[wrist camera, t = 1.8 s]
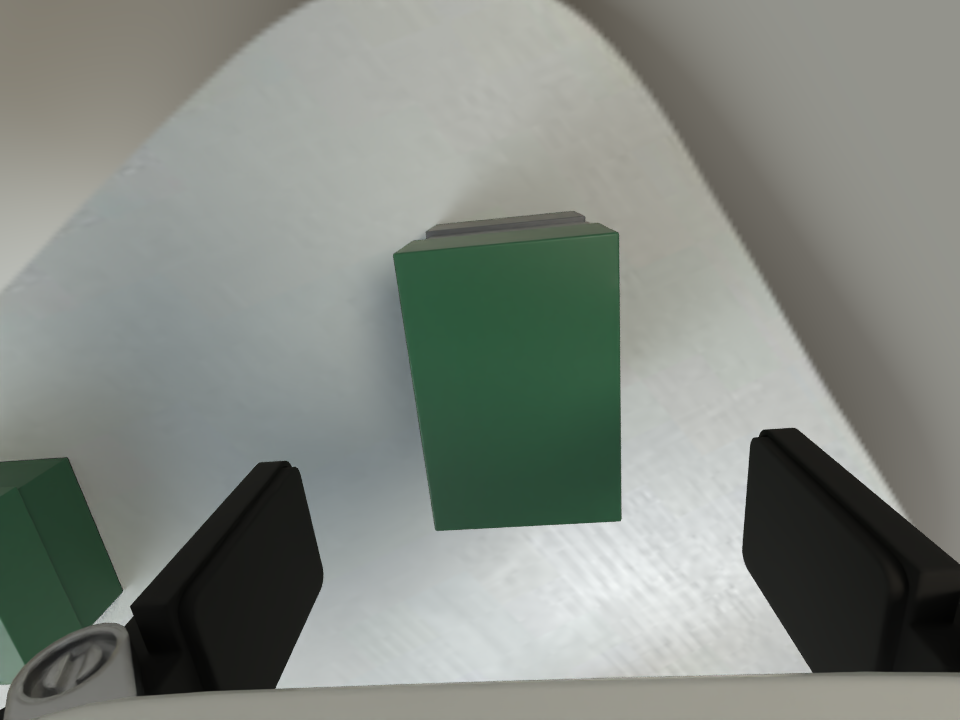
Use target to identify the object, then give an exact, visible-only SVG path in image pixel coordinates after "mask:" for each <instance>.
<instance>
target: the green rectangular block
mask: <svg viewBox="0 0 960 720" xmlns="http://www.w3.org/2000/svg"><path fill="white" fill-rule="evenodd" d="M393 258H394V265H395V271H396V278H397V284H398V291H399V297H400V304H401V310H402V317H403V323H404V330H405V337H406V343H407V350H408V356H409V363H410V369H411V376H412V382H413V389H414V395H415V402H416V408H417V415H418V421H419V428H420V434H421V441H422V447H423V454H424V460H425V467H426V473H427V480H428V486H429V493H430V499H431V506H432V512H433V519H434V525H435V530H436V531H444V530H463V529H483V528H502V527H521V526H540V525H559V524H578V523H597V522H616V521H621V519H622V516H621V402H620V289H619V233H618V232H616V231H614V230H612V229H610V228H608V227H606V226H604V225H602V224H599V223H591V224H580V225H570V226H560V227H549V228H539V229H529V230H518V231H508V232H498V233H487V234H477V235H467V236H456V237H446V238H436V239H425V240H415V241H412V242H410V243H409V244H407V245H406V246H404V247H403V248H402V249H400V250H399V251H397V252H396V253H394V254H393Z"/></svg>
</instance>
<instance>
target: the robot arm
mask: <svg viewBox="0 0 960 720" xmlns="http://www.w3.org/2000/svg"><path fill="white" fill-rule="evenodd" d="M742 553H743V559H744V562H745V565H746V567H747V569H748V571H749V572H750V574H751V576H752V577H753V579H754V580H755V582H756V584H757V585H758V587H759V588H760V590H761V591H762V593H763V595H764V596H765V598H766V599H767V601H768V603H769V604H770V606H771V607H772V609H773V610H774V612H775V614H776V615H777V617H778V618H779V620H780V622H781V623H782V625H783V626H784V628H785V629H786V631H787V633H788V634H789V636H790V637H791V639H792V641H793V642H794V644H795V645H796V647H797V648H798V650H799V652H800V653H801V655H802V656H803V658H804V660H805V661H806V663H807V664H808V666H809V667H810V669H811V671H812V672H813V673H789V674H747V675H705V676H663V677H622V678H587V679H552V680H518V681H486V682H454V683H423V684H396V685H368V686H341V687H313V688H286V689H275V688H276V686H277V683H278V681H279V679H280V677H281V675H282V673H283V670H284V668H285V666H286V664H287V662H288V660H289V657H290V655H291V653H292V651H293V649H294V646H295V644H296V642H297V640H298V638H299V636H300V633H301V631H302V629H303V627H304V625H305V622H306V620H307V618H308V616H309V614H310V612H311V609H312V607H313V605H314V603H315V601H316V598H317V596H318V594H319V592H320V590H321V587H322V583H323V567H322V563H321V559H320V554H319V550H318V546H317V542H316V538H315V533H314V529H313V525H312V521H311V517H310V513H309V508H308V504H307V500H306V496H305V492H304V487H303V483H302V479H301V475H300V472H299V470H298V468H296V467H292V466H291V464H290V463H289V462H288V461H275V462H261V463H258V464H257V465H256V466H255V467H254V468H253V469H252V470H251V472H250V473H249V474H248V475H247V476H246V477H245V478H244V479H243V480H242V482H241V483H240V484H239V485H238V486H237V487H236V488H235V489H234V491H233V492H232V493H231V494H230V495H229V496H228V497H227V498H226V499H225V501H224V502H223V503H222V504H221V505H220V506H219V507H218V508H217V510H216V511H215V512H214V513H213V514H212V515H211V516H210V517H209V519H208V520H207V521H206V522H205V523H204V524H203V525H202V526H201V527H200V529H199V530H198V531H197V532H196V533H195V534H194V535H193V536H192V538H191V539H190V540H189V541H188V542H187V543H186V544H185V545H184V546H183V548H182V549H181V550H180V551H179V552H178V553H177V554H176V555H175V557H174V558H173V559H172V560H171V561H170V562H169V563H168V564H167V565H166V567H165V568H164V569H163V570H162V571H161V572H160V573H159V574H158V576H157V577H156V578H155V579H154V580H153V581H152V582H151V583H150V585H149V586H148V587H147V588H146V589H145V590H144V591H143V592H142V593H141V595H140V596H139V597H138V598H137V599H136V600H135V601H134V602H133V604H132V605H131V606H130V608H131V610H132V613H133V615H134V616H133V617H132V618H131V620H130V621H129V622H128V623H127V624H126V625H125V627H124V626H122V625H120V624H117V623H101V624H96V625H91V626H87V627H85V628H82V629H79V630H77V631H74V632H72V633H70V634H68V635H66V636H64V637H62V638H60V639H58V640H57V641H55V642H53V643H52V644H50V645H49V646H47V647H46V648H45V649H43V650H42V651H40V652H39V653H37V654H36V655H35V656H34V657H33V658H32V659H31V660H30V661H29V662H28V663H27V664H25V665H24V666H23V667H22V669H21V670H20V671H19V673H18V674H17V675H16V676H15V678H14V679H13V680H12V683H11V685H10V688H9V691H8V694H7V700H6V706H5V708H3V709H1V710H0V720H960V564H958V562H956V561H955V560H954V559H953V558H952V557H950V556H949V555H948V554H947V553H946V552H944V551H943V550H942V549H941V548H940V547H938V546H937V545H936V544H935V543H934V542H932V541H931V540H930V539H929V538H927V537H926V536H925V535H924V534H923V533H922V532H920V531H919V530H918V529H917V528H915V527H914V526H913V525H912V524H911V523H909V522H908V521H907V520H906V519H905V518H903V517H902V516H901V515H900V514H899V513H897V512H896V511H895V510H894V509H893V508H891V507H890V506H889V505H888V504H887V503H885V502H884V501H883V500H882V499H881V498H879V497H878V496H877V495H876V494H875V493H873V492H872V491H871V490H870V489H869V488H867V487H866V486H865V485H864V484H863V483H861V482H860V481H859V480H858V479H857V478H855V477H854V476H853V475H852V474H851V473H849V472H848V471H847V470H846V469H845V468H843V467H842V466H841V465H840V464H839V463H837V462H836V461H835V460H834V459H833V458H831V457H830V456H829V455H828V454H827V453H825V452H824V451H823V450H822V449H821V448H819V447H818V446H817V445H816V444H815V443H813V442H812V441H811V440H810V439H809V438H807V437H806V436H805V435H804V434H803V433H801V432H800V431H799V430H797V429H796V428H783V429H768V430H763V431H761V433H760V435H759V437H756V438H753V439H752V441H751V444H750V455H749V468H748V481H747V494H746V507H745V520H744V533H743V546H742Z"/></svg>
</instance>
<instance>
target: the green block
mask: <svg viewBox="0 0 960 720" xmlns="http://www.w3.org/2000/svg"><path fill="white" fill-rule="evenodd" d="M122 592H123V590H122V588H121V586H120V583H119V581H118V578H117V576H116V574H115V571H114V569H113V566H112V564H111V562H110V559H109V557H108V554H107V552H106V550H105V547H104V545H103V542H102V540H101V538H100V535H99V533H98V530H97V528H96V526H95V523H94V521H93V518H92V516H91V514H90V511H89V509H88V506H87V504H86V502H85V499H84V497H83V494H82V492H81V490H80V487H79V485H78V482H77V480H76V478H75V475H74V473H73V470H72V468H71V466H70V463H69V461H68V458H55V459H41V460H26V461H11V462H0V685H9V684H11V683H12V680H13V679H14V678H15V676H16V675H17V674H18V673H19V671H20V670H21V669H22V667H23V666H24V665H25V664H27V663H28V662H29V661H30V660H31V659H32V658H33V657H34V656H35V655H36V654H37V653H39V652H40V651H42V650H43V649H45V648H46V647H47V646H49V645H50V644H52V643H53V642H55V641H57V640H58V639H60V638H62V637H64V636H66V635H68V634H70V633H72V632H74V631H77V630H79V629H82V628H85V627H87V626H91V625H93V623H94V622H95V621H96V620H97V619H98V618H99V617H100V616H101V615H102V614H103V613H104V612H105V610H106V609H107V608H108V607H109V606H110V605H111V604H112V603H113V602H114V601H115V600H116V599H117V598H118V596H119V595H120V594H121V593H122Z"/></svg>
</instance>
